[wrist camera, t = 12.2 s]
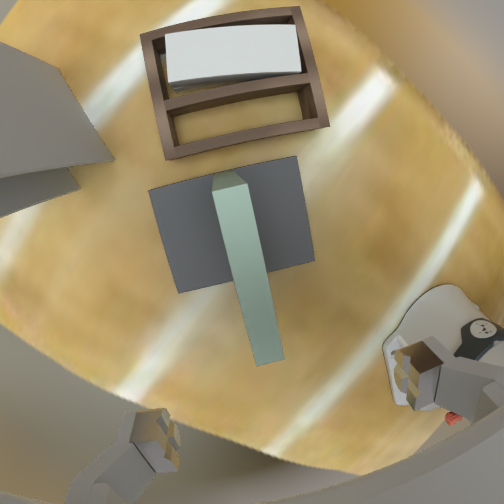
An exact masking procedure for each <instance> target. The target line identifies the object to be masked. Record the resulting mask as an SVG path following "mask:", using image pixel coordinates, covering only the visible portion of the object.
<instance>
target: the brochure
mask: <svg viewBox="0 0 504 504" xmlns="http://www.w3.org/2000/svg"><path fill="white" fill-rule="evenodd" d="M114 160H115V159H114V157H113V156H112V154H111V153H110V151H109V150H108V148H107V147H106V145H105V144H104V142H103V141H102V139H101V138H100V136H99V134H98V133H97V131H96V130H95V128H94V127H93V125H92V123H91V122H90V120H89V119H88V117H87V116H86V114H85V112H84V111H83V109H82V107H81V106H80V104H79V103H78V101H77V99H76V98H75V96H74V94H73V93H72V91H71V90H70V88H69V86H68V85H67V83H66V81H65V79H64V78H63V76H62V74H61V73H60V71H59V69H58V68H57V67H54V66H52V65H50V64H48V63H46V62H44V61H42V60H40V59H38V58H36V57H33V56H31V55H29V54H27V53H25V52H22V51H20V50H18V49H16V48H14V47H11V46H9V45H7V44H4V43H2V42H0V218H2V217H4V216H7V215H9V214H12V213H14V212H17V211H20V210H22V209H25V208H28V207H31V206H33V205H36V204H39V203H42V202H45V201H47V200H50V199H53V198H56V197H59V196H62V195H65V194H68V193H71V192H74V191H78V190H80V189H81V188H80V187H79V185H78V184H77V182H76V181H75V179H74V178H73V176H72V174H71V173H70V171H69V170H68V168H67V167H70V166H77V165H85V164H94V163H103V162H112V161H114Z"/></svg>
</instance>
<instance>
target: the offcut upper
mask: <svg viewBox="0 0 504 504" xmlns="http://www.w3.org/2000/svg"><path fill="white" fill-rule="evenodd" d="M165 44H166V60H167V74H168V83H169V84H170V86H171V87H172V89H173V88H180V87H187V86H194V85H202V84H210V83H220V82H230V81H242V80H257V79H266V78H273V77H280V76H287V75H295V74H299V73H300V72H301V63H300V55H299V48H298V40H297V33H296V26H295V25H243V26H228V27H216V28H206V29H197V30H189V31H182V32H176V33H169V34H165Z"/></svg>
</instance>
